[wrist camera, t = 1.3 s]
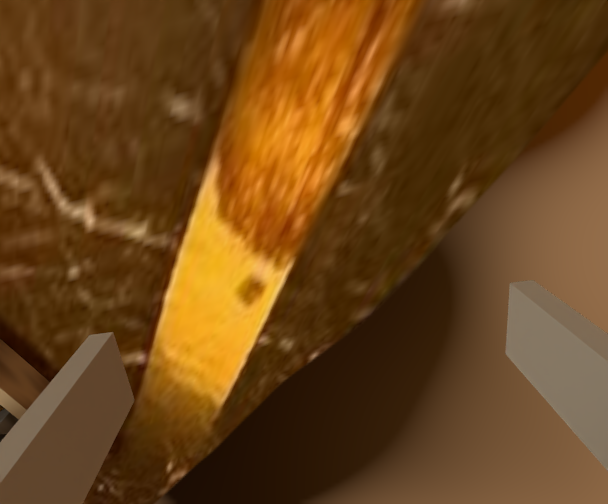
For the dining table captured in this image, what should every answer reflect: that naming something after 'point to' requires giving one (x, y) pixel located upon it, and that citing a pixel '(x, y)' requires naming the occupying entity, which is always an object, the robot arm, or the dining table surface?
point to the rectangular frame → (17, 387)
